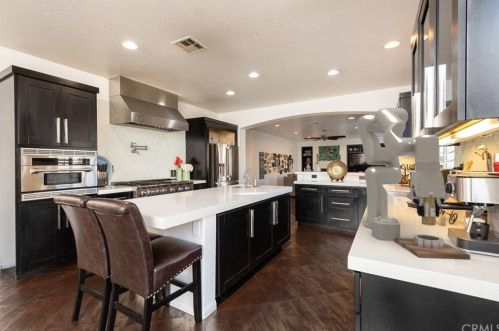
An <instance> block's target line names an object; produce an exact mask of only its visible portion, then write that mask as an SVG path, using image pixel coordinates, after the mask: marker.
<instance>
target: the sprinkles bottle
mask: <svg viewBox="0 0 499 331" xmlns="http://www.w3.org/2000/svg"><path fill="white" fill-rule="evenodd" d="M429 194H430V195H429V197H427V198H424V200H423V206H424V217H421V224H422V225H424V226H431V227H433V226H436V225H437V222H436V218H437V217H436V213H435V198H434V197H433V195H432V194H433V192H430V193H429Z"/></svg>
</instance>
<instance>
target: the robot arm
mask: <svg viewBox="0 0 499 331" xmlns="http://www.w3.org/2000/svg"><path fill="white" fill-rule="evenodd" d="M408 120H409V114H408V111H407V110H406V108H405V109H404V108H402V107H383V108H380V109H379V110H377V111H376V112H375V113H374V114H365V115H362V116H360V117H359V118H358V120H357V122H356V124H357V125H356V128H357V133H358V136H359V138H360V140H361V144H362V149H363V155H364V160H365V163H366V164H367V165H372V166H369V167H367V168H366V170H364V179H365V185H366V186H365V187H366V202H367V203H366V208H367V209H366V211H367V212H366V213H367V215H366V217H367V221H365V222H364V223H363V225H364V226H365V227H366V228H369V229H372V219H373V218H374V217H378V216H381V217H382V218H384V217H385V216H387V217H389V215H388V214H389V212H388V210H389V209H388V204H389V203H388V202H389V201H388V192H387V190H386V188H385V187H384V185H398V184H399V183H401V181H402V178H403V173H402V168H401V163H400V157H410V156H411V157H414V171H412V173H411V178H410V186H409V188H410V189H409V190H410V191H409V192H408V194H407V196H406V198H408V199H409V200H410V201H412V202H413V203H414V205H415V206H416V213H417V216H418V217H421V218H422V217H424V206H423V200H424V198H427V197H429V195H430V194H429V193H430V192H433V194H432V195H433V197H434V198H435V213H436V216H435V217H436V218H439V217H440V213H441V212H440V211H441V209H440V207H441V206H442V205H443V203H445V201H447V200H449V199H450V195H449V194H448V193H447V192H446V189H445V181H444V180H445V179H444V176H443V172H442V171H441V169H443V168H444V165H443V164H440V142H439V141H440V139H439V137H438V135H436V134H424V135H418V136H416V137H399V136H400V135H402V134H403V133H404V131H405V130H406V127H407V126H406V123H407V121H408ZM373 131H384V133H383V138H382V140H383V144H384V146H385V147H384V146H383V147H382V146H381V142H380V139H379V137H378V136H377V134H376V133H374V132H373Z"/></svg>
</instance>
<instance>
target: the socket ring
mask: <svg viewBox="0 0 499 331" xmlns="http://www.w3.org/2000/svg"><path fill="white" fill-rule="evenodd" d="M413 239H414V245H416V246H418V247H422V248H426V249H435V250H440V249H443V243H444V238H441V237H440V236H435V235H431V234H420V233H419V234H414V235H413Z"/></svg>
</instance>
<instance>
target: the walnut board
mask: <svg viewBox="0 0 499 331" xmlns="http://www.w3.org/2000/svg"><path fill="white" fill-rule="evenodd" d="M393 242H394V243H396V244H398V245H399V246H401V247H403V248H404V250H405V249H406V250H407V251H408V252H410V253H411V254H413V255H414V256H416V257H418V258H420V259H421V258H423V259H424V258H425V259H447V260H448V259H452V260H471V254H469V253H467V252H465V251H463V250H460V249H458V248H456V247H454V246H451V245H450V244H447V243H445V242H443V249H440V250H435V249H426V248H422V247H418V246H416V245H414V238H408V237H407V238H406V237H404V238H403V237H400V238H394V241H393Z"/></svg>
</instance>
